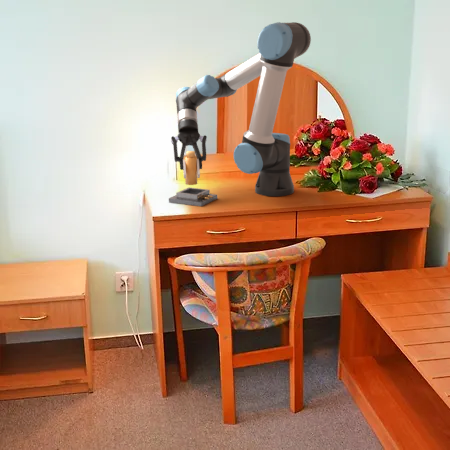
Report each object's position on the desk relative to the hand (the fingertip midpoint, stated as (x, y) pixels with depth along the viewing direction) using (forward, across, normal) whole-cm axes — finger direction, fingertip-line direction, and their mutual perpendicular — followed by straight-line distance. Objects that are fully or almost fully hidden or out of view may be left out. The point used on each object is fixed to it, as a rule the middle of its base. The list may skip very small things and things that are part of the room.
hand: (191, 176), depth 242 cm
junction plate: (+5, 0, -10) cm, 11 cm away
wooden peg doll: (0, 0, -5) cm, 5 cm away
